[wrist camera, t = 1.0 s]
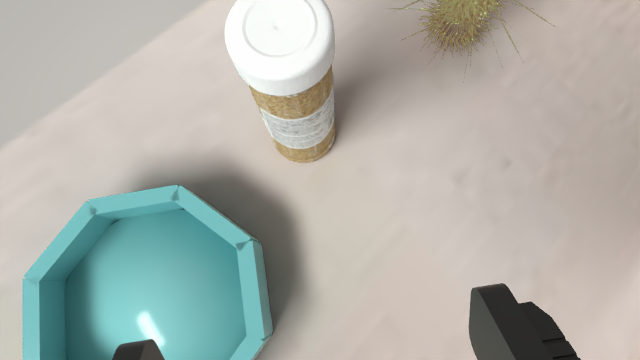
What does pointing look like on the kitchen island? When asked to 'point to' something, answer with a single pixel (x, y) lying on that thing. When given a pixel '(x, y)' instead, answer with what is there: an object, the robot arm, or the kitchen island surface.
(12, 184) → the kitchen island surface
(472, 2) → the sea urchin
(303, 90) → the sprinkles bottle
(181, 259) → the bowl
